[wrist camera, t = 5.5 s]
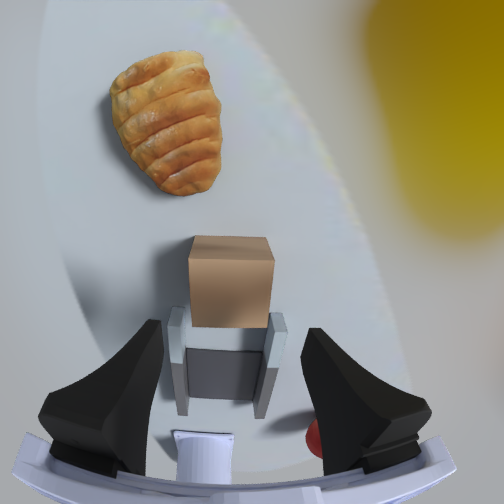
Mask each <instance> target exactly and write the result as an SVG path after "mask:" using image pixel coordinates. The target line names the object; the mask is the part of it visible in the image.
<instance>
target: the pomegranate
mask: <svg viewBox="0 0 504 504" xmlns="http://www.w3.org/2000/svg"><path fill="white" fill-rule="evenodd" d="M305 437H306V443H307V446H308V448H309V450H310V451H311V452H312V453H313V454H314V455H316V456H317V457H319V458H322V448H321V441H320V434H319V428H318V423H317V418H316V419H315V420H314V421H313V422H312V423H311V425H310V426H309V428H308V430H307V433H306V436H305ZM322 459H323V458H322Z"/></svg>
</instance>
